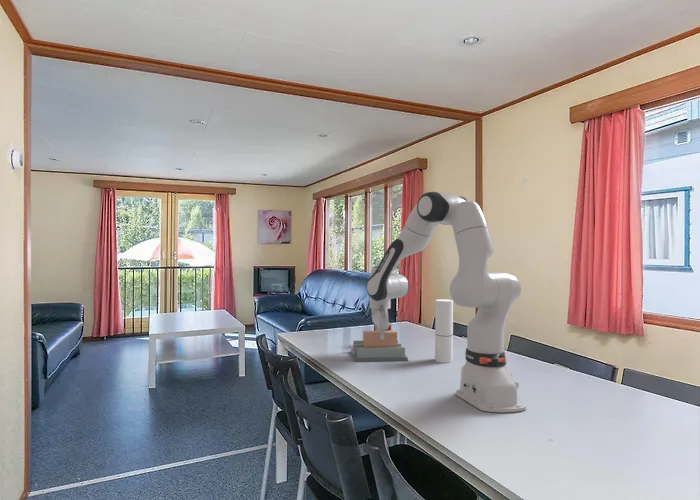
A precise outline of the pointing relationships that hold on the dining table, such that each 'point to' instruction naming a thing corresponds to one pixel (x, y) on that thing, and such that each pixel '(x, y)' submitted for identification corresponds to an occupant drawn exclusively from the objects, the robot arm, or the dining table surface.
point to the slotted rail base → (377, 353)
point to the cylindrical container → (444, 331)
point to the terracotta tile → (373, 339)
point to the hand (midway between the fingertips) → (379, 336)
